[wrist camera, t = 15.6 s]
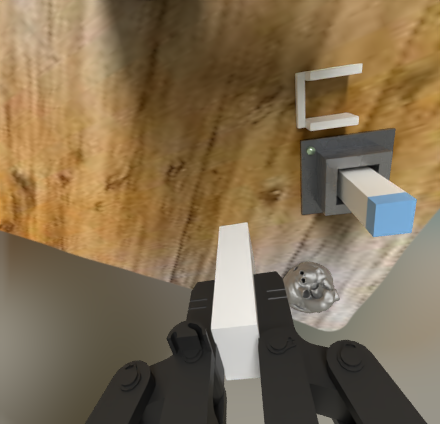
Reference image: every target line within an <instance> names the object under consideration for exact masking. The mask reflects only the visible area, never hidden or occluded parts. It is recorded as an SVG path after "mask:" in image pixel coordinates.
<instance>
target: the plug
mask: <svg viewBox="0 0 440 424" xmlns="http://www.w3.org/2000/svg"><path fill="white" fill-rule="evenodd" d="M337 196H338V197H339V198H340V199H341V200H342V202H343V203H344V204H345V205H346V206H347V207H348V208H349V210H350V211H351V212H352V213H353V214H354V215H355V217H356V218H357V219H358V220H359V221H360V222H361V223H362V225H363V226H364V227H365V228H366V229H367V230H368V232H369V233H370V234H371V235H372V236H373V237H378V236H387V235H395V234H404V233H412V226H413V220H414V214H415V207H416V201H417V199H415V198H414V197H412V196H411V195H409V194H408V193H406V192H405V191H404V190H402V189H401V188H399V187H398V186H396V185H395V184H393V183H392V182H390V181H389V180H387V179H386V178H384V177H383V176H381V175H380V174H378V173H377V172H375V171H374V170H373V169H371V168H370V167H368V166H359V167H350V168H342V169H338V171H337Z"/></svg>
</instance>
